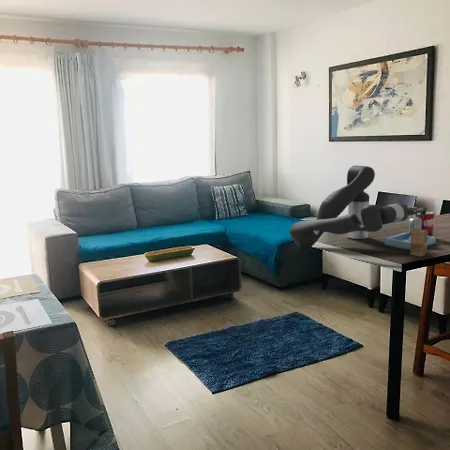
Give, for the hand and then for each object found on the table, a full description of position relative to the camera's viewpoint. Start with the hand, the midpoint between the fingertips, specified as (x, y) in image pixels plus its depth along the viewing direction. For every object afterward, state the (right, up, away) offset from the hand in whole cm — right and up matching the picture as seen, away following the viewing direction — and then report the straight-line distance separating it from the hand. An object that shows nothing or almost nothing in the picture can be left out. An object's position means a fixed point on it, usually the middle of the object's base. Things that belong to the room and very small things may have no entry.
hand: (416, 208), depth 214 cm
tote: (-1, -15, +5) cm, 16 cm away
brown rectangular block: (-4, -19, -12) cm, 23 cm away
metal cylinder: (+2, -14, +8) cm, 16 cm away
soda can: (+10, -13, +17) cm, 24 cm away
